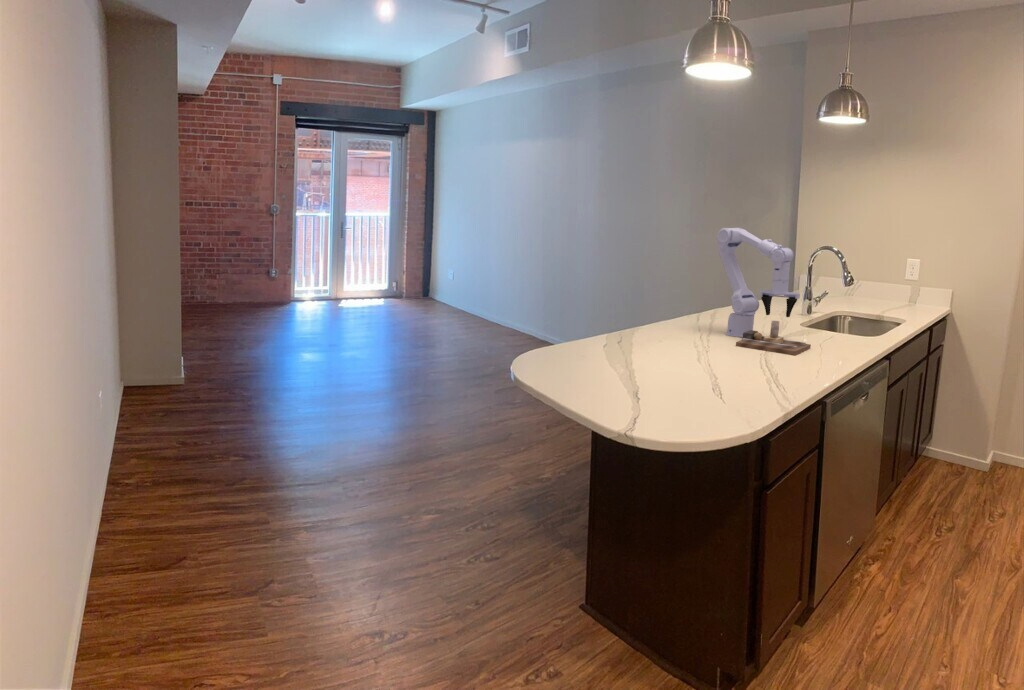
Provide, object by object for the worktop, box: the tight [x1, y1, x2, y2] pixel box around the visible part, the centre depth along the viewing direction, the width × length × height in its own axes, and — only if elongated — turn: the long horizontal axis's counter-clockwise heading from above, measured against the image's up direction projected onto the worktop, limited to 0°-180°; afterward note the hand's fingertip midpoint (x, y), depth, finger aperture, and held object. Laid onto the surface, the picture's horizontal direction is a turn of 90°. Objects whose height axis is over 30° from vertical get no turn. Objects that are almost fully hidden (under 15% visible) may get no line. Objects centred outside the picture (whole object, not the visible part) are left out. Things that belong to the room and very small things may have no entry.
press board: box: [735, 329, 811, 356], centre depth 268 cm, size 22×16×5 cm
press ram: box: [764, 320, 784, 344], centre depth 267 cm, size 5×6×8 cm
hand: (777, 315), depth 275 cm, fingers open, 7 cm apart
